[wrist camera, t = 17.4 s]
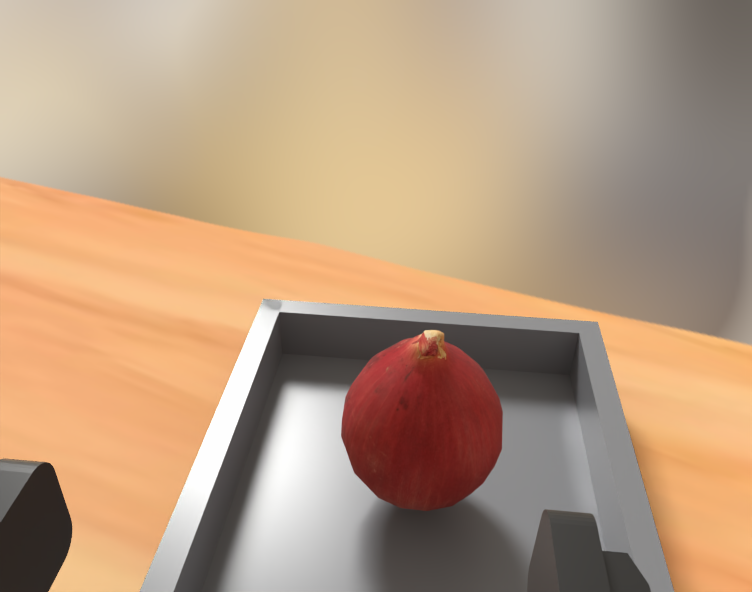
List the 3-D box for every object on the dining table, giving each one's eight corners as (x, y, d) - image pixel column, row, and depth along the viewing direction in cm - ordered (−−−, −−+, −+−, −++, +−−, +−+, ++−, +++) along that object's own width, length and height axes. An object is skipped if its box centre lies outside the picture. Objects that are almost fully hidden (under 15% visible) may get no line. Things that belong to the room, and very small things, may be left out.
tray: (133, 722, 21) (111, 657, 19) (268, 355, 36) (263, 298, 34) (677, 784, 20) (711, 723, 18) (584, 379, 35) (597, 322, 33)
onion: (313, 482, 28) (306, 317, 24) (424, 422, 31) (435, 265, 27) (406, 587, 24) (418, 413, 20) (522, 507, 27) (555, 341, 23)
